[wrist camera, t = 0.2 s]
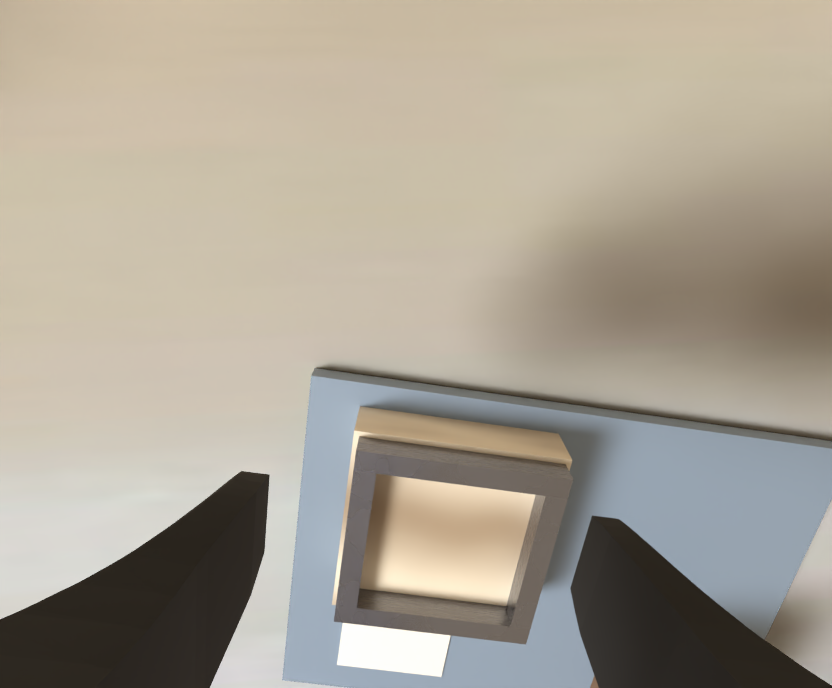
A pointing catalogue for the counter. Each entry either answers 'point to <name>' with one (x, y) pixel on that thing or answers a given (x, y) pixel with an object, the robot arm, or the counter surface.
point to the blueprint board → (614, 476)
